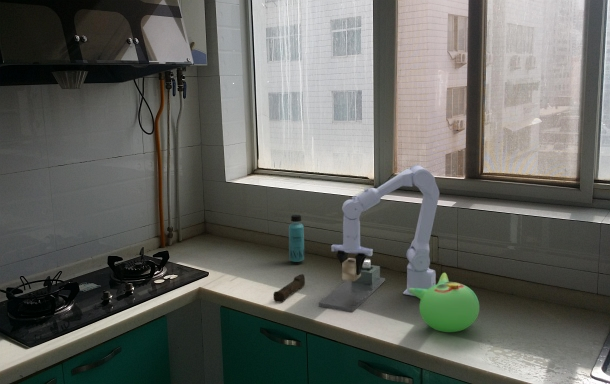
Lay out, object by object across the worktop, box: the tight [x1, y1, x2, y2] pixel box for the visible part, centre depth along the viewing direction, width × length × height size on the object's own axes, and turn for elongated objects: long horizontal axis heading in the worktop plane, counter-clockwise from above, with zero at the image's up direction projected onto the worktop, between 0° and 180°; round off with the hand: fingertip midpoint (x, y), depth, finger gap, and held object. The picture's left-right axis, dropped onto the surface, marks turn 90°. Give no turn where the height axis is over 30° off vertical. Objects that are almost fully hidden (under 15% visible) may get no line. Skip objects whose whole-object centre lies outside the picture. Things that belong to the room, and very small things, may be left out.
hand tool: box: [273, 273, 306, 303], centre depth 197 cm, size 19×4×5 cm, turn 149°
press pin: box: [361, 258, 372, 271], centre depth 205 cm, size 4×4×4 cm
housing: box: [341, 257, 361, 281], centre depth 193 cm, size 4×6×6 cm
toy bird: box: [408, 272, 480, 333], centre depth 165 cm, size 18×17×15 cm
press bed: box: [318, 264, 386, 313], centre depth 195 cm, size 12×31×6 cm, turn 153°
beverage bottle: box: [288, 214, 305, 263], centre depth 228 cm, size 6×7×20 cm
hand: (351, 273), depth 193 cm, fingers closed on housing, 4 cm apart
